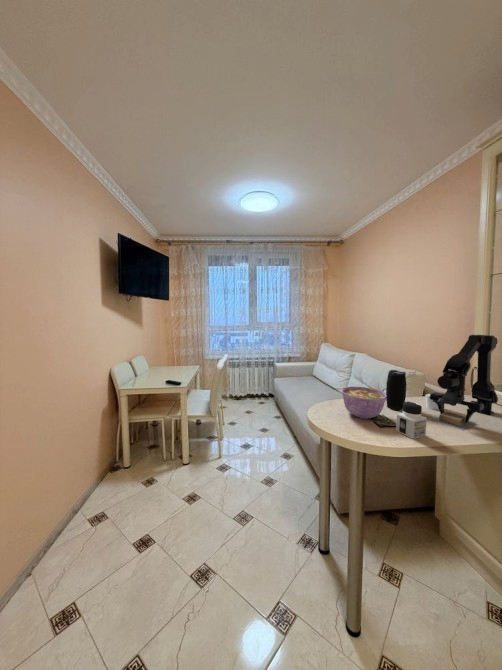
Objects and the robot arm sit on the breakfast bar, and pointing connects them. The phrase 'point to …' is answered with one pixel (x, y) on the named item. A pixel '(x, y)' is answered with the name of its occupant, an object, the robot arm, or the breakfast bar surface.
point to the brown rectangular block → (453, 418)
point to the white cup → (431, 403)
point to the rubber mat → (456, 426)
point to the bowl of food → (363, 401)
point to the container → (411, 421)
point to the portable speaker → (396, 389)
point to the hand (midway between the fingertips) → (453, 419)
